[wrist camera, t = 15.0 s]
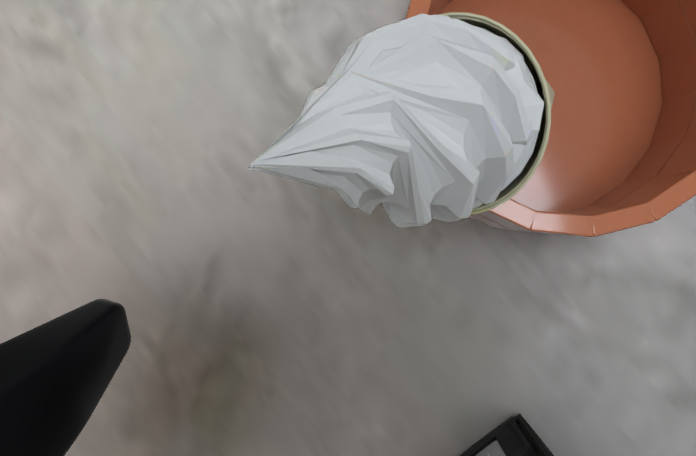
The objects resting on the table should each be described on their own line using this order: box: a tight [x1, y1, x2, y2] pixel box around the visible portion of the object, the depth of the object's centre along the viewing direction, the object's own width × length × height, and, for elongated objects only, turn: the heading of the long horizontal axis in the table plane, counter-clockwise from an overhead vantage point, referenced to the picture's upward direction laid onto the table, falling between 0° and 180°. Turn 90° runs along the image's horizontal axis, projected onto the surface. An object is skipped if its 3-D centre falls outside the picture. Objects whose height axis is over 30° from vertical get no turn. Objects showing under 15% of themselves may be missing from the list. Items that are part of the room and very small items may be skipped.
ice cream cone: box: [249, 12, 555, 228], centre depth 15 cm, size 5×5×15 cm
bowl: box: [405, 0, 696, 237], centre depth 19 cm, size 10×10×5 cm
